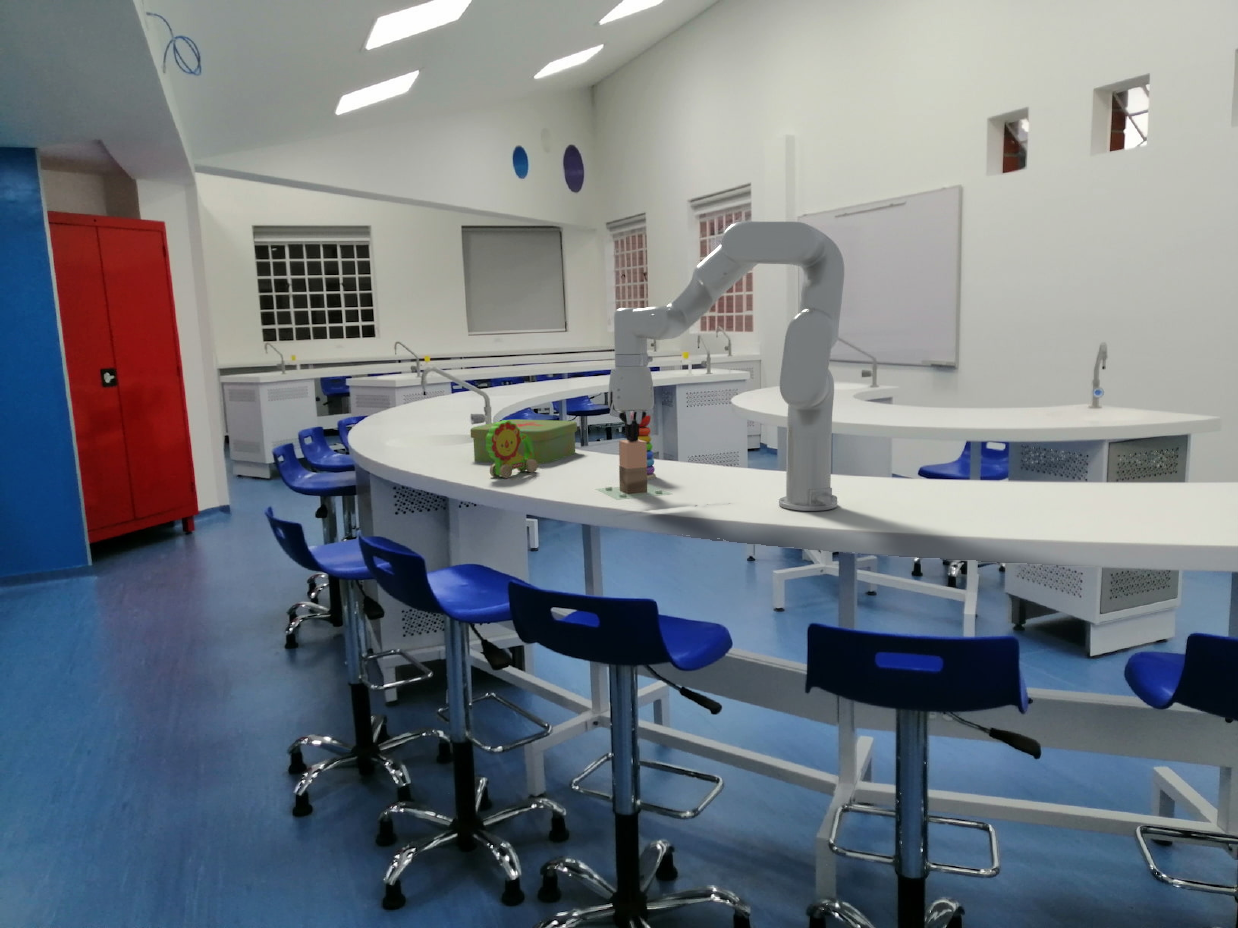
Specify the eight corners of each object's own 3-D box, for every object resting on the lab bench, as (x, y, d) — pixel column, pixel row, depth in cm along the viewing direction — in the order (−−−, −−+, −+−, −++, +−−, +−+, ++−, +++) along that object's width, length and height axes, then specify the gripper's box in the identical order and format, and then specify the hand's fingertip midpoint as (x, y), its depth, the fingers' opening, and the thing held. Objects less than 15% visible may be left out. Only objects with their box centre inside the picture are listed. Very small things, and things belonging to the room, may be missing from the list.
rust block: (647, 467, 207) (646, 441, 206) (627, 468, 205) (626, 443, 204) (639, 464, 211) (638, 439, 210) (619, 465, 209) (619, 440, 208)
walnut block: (647, 492, 208) (646, 467, 207) (627, 494, 206) (627, 468, 205) (638, 488, 212) (638, 464, 211) (619, 490, 210) (619, 465, 209)
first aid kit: (466, 461, 267) (465, 428, 265) (510, 449, 290) (509, 418, 289) (543, 465, 256) (542, 431, 255) (582, 452, 280) (581, 421, 278)
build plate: (672, 498, 205) (672, 491, 205) (616, 503, 200) (616, 496, 200) (648, 487, 218) (648, 481, 218) (595, 493, 213) (595, 486, 213)
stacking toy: (653, 483, 223) (652, 410, 220) (622, 483, 225) (620, 410, 222) (658, 478, 231) (657, 407, 228) (628, 477, 233) (626, 407, 230)
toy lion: (524, 470, 248) (522, 416, 245) (538, 472, 244) (537, 417, 242) (482, 478, 236) (480, 422, 233) (496, 480, 232) (494, 423, 230)
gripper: (654, 360, 210) (655, 436, 213) (595, 362, 205) (596, 440, 208) (667, 361, 203) (668, 440, 206) (606, 363, 198) (608, 444, 201)
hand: (632, 440), depth 207 cm, fingers closed
